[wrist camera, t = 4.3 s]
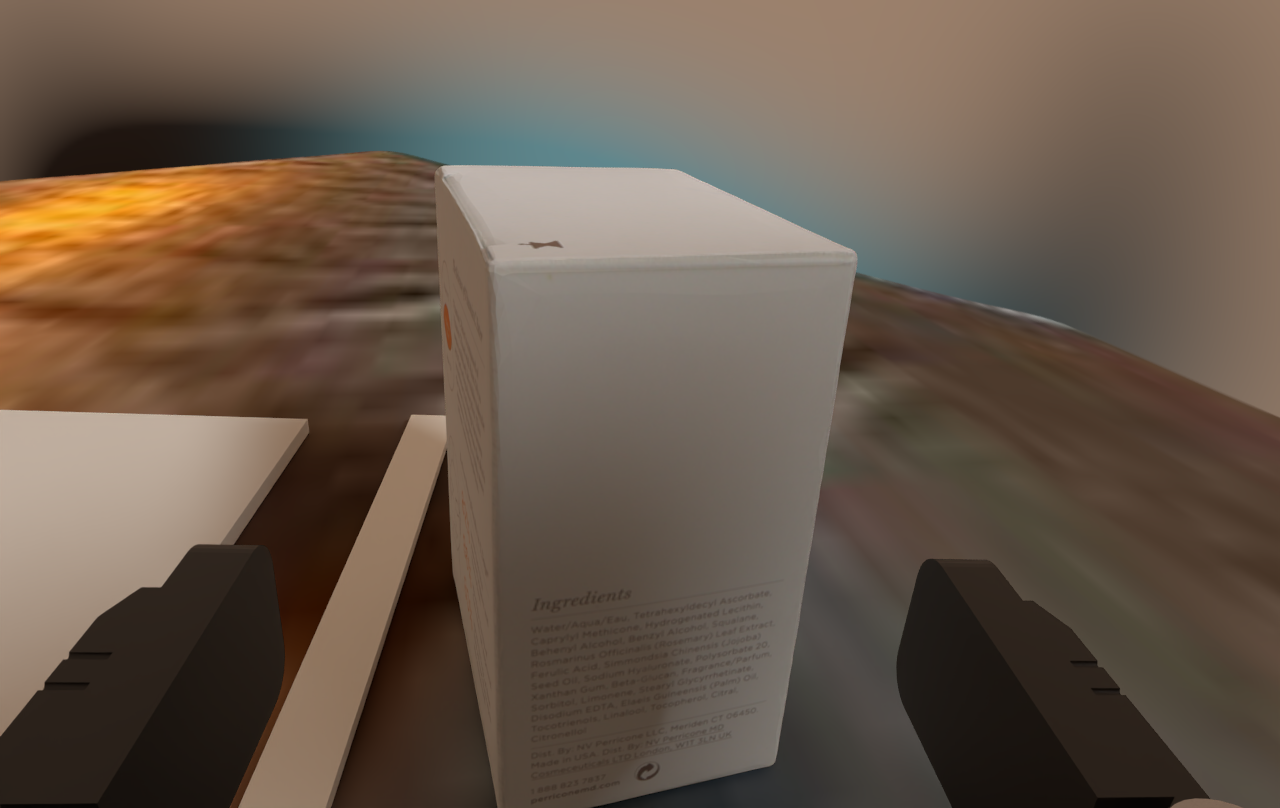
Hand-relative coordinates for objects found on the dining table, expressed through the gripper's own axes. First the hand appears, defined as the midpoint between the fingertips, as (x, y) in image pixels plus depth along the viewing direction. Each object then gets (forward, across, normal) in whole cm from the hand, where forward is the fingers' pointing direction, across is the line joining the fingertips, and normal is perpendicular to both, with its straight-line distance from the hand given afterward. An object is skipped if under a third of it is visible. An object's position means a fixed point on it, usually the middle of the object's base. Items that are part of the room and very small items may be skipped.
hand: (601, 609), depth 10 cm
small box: (+6, 0, +7) cm, 9 cm away
